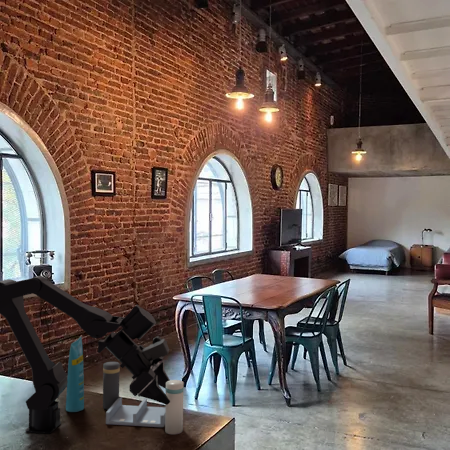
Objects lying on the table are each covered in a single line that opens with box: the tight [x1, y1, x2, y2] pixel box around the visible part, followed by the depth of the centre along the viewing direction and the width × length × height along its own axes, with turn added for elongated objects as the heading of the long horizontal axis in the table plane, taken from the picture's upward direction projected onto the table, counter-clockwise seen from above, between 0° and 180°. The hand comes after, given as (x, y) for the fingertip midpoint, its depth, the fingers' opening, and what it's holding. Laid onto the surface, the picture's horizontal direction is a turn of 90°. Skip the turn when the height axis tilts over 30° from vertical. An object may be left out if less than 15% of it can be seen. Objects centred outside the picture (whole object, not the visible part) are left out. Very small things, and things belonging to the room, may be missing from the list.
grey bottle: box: [102, 361, 121, 411], centre depth 139 cm, size 4×4×12 cm
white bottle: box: [164, 379, 185, 435], centre depth 124 cm, size 4×4×12 cm
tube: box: [65, 336, 85, 413], centre depth 137 cm, size 7×5×19 cm, turn 2°
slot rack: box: [105, 396, 165, 428], centre depth 132 cm, size 15×11×3 cm
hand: (171, 396), depth 124 cm, fingers open, 9 cm apart
